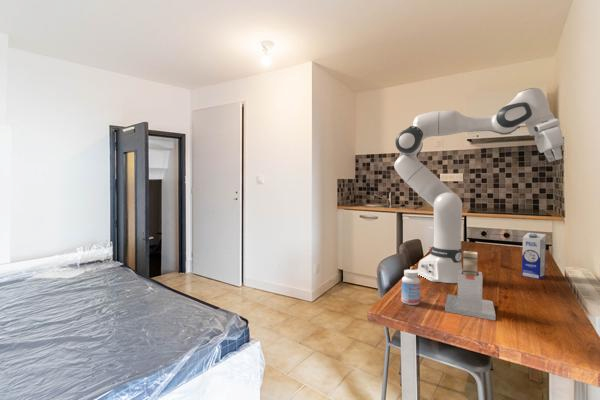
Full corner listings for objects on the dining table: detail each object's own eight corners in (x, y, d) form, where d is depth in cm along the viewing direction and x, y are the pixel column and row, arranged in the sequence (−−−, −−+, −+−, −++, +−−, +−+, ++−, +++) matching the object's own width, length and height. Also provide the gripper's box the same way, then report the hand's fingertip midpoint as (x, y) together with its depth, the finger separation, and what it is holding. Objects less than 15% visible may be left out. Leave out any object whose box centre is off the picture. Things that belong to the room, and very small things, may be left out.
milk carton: (545, 277, 138) (546, 233, 137) (539, 279, 134) (541, 235, 134) (527, 273, 144) (528, 232, 143) (521, 275, 140) (522, 233, 139)
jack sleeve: (444, 311, 99) (445, 275, 98) (447, 298, 111) (448, 266, 111) (495, 320, 92) (496, 281, 92) (492, 305, 104) (493, 271, 104)
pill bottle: (411, 306, 103) (411, 274, 102) (397, 301, 108) (398, 270, 108) (423, 303, 105) (423, 272, 105) (409, 298, 111) (410, 268, 111)
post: (462, 303, 101) (463, 253, 100) (462, 299, 104) (463, 250, 104) (476, 305, 99) (477, 254, 98) (476, 301, 102) (477, 252, 102)
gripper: (527, 134, 129) (539, 165, 127) (538, 125, 110) (553, 161, 109) (545, 128, 126) (557, 159, 124) (560, 118, 108) (574, 154, 106)
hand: (555, 160), depth 116 cm, fingers open, 8 cm apart
